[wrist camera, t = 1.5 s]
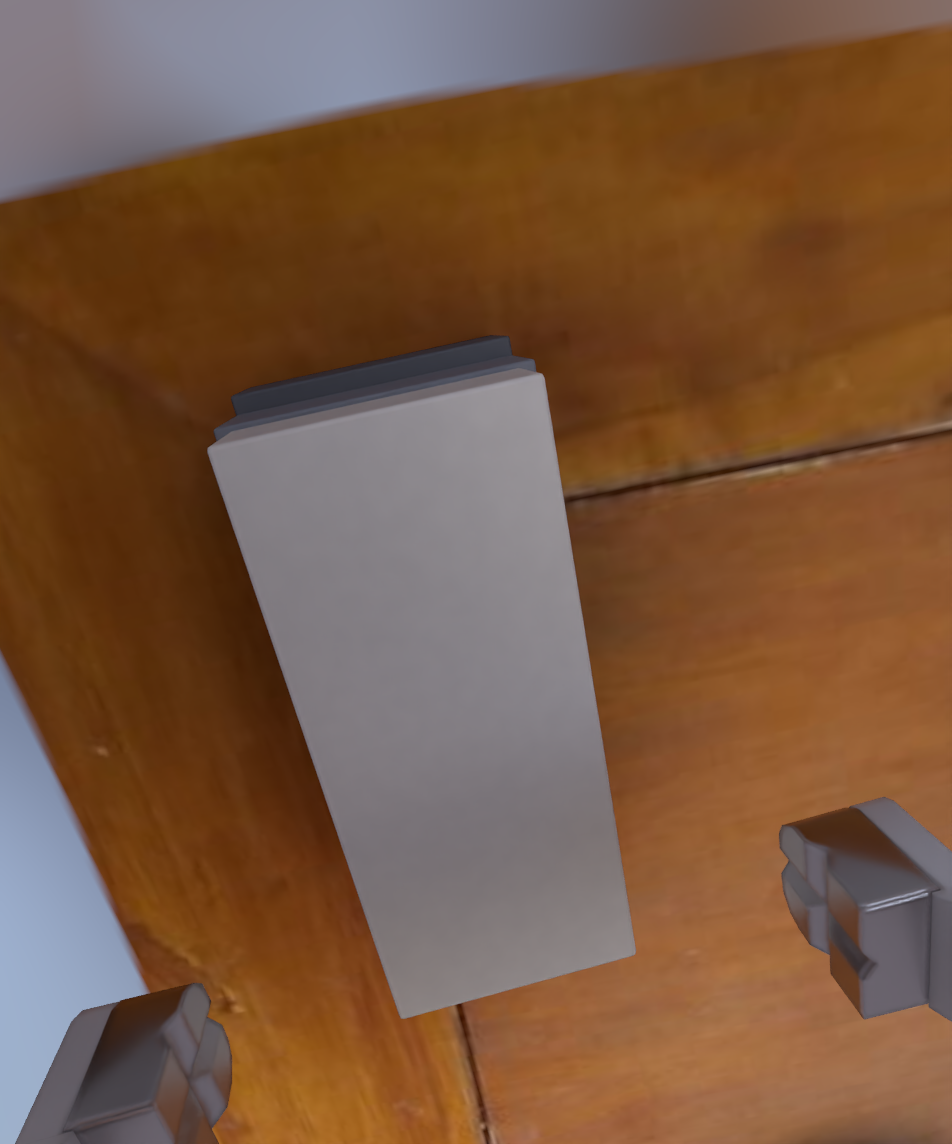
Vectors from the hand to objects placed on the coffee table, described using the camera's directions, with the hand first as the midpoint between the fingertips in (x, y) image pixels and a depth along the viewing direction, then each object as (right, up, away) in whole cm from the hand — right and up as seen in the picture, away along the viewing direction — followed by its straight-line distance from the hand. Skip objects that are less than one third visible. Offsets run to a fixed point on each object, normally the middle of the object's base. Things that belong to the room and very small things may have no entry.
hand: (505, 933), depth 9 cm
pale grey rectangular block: (-1, +2, +5) cm, 6 cm away
